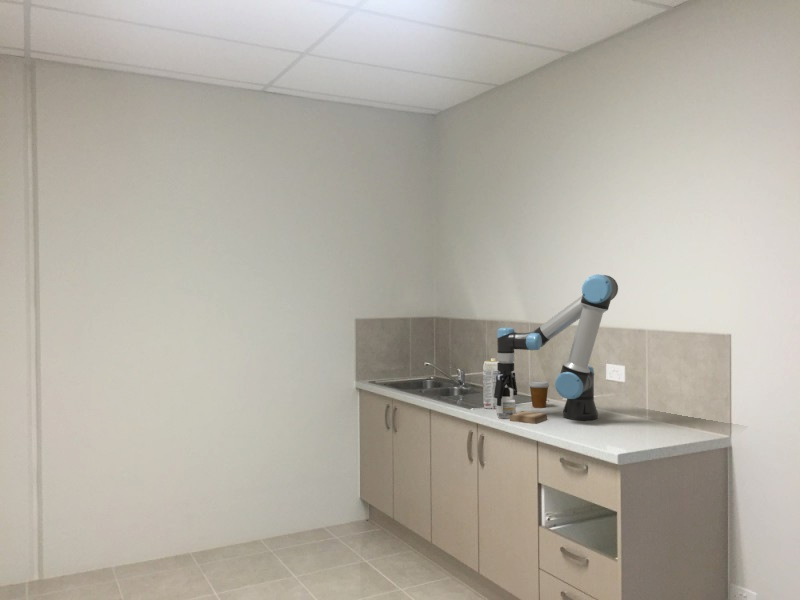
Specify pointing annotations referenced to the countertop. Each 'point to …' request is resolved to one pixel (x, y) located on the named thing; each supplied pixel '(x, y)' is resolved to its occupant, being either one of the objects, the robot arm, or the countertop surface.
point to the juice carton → (490, 383)
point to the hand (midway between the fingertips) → (505, 411)
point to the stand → (528, 417)
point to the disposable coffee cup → (539, 393)
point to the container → (507, 404)
